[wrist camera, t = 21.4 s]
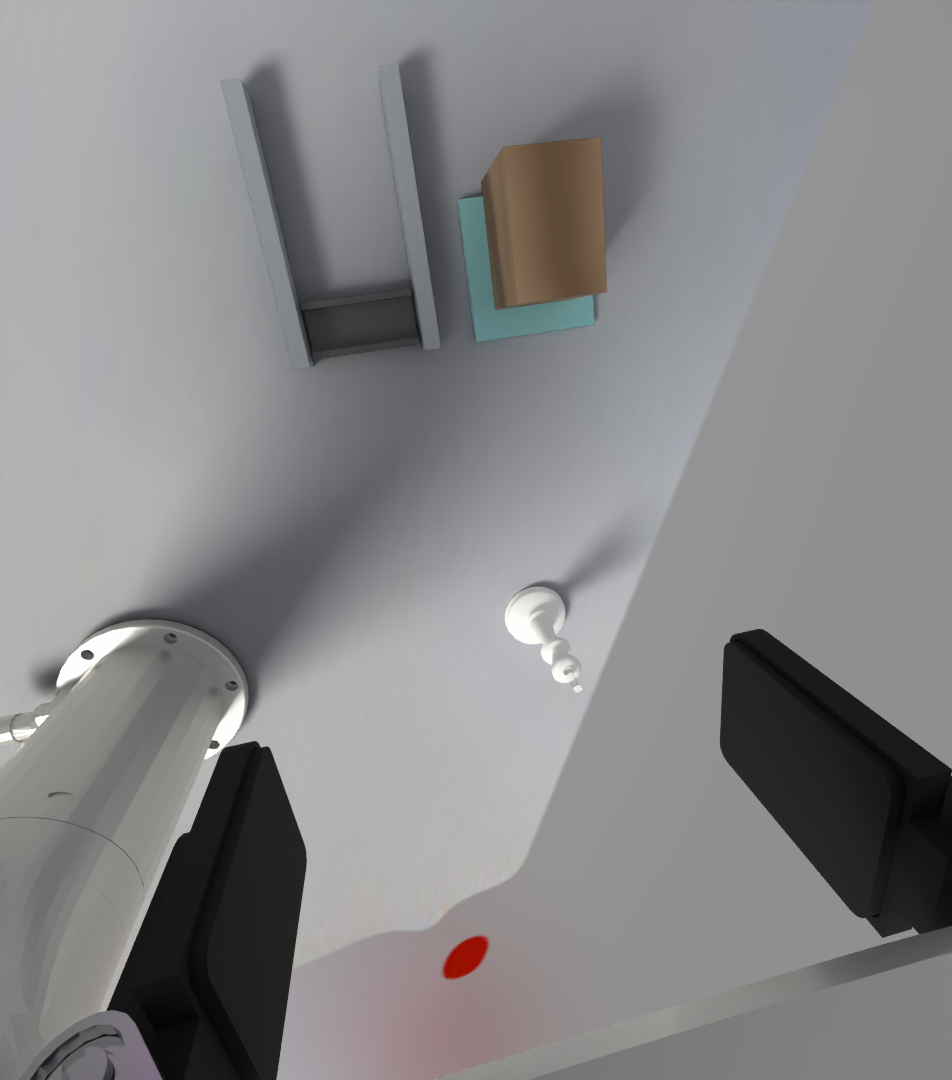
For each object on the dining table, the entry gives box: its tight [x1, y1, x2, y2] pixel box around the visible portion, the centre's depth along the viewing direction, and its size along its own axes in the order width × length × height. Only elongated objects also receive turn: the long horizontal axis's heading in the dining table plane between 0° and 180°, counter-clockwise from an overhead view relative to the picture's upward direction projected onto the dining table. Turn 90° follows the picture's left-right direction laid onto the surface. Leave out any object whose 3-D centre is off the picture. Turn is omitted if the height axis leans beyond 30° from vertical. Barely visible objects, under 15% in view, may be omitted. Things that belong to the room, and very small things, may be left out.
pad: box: [457, 196, 595, 342], centre depth 33 cm, size 8×8×1 cm
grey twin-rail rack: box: [220, 65, 441, 370], centre depth 31 cm, size 9×14×2 cm, turn 7°
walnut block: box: [481, 137, 607, 310], centre depth 30 cm, size 5×7×6 cm
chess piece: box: [505, 586, 583, 693], centre depth 38 cm, size 5×5×10 cm
